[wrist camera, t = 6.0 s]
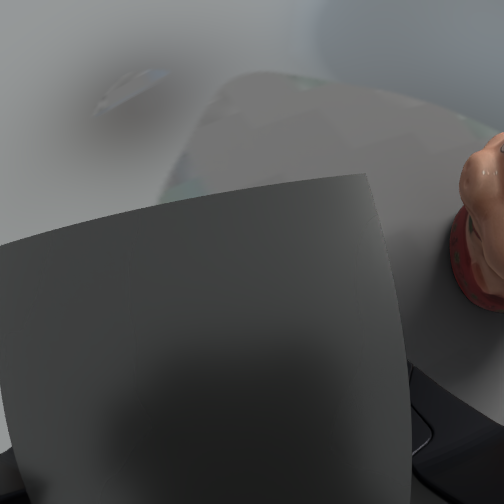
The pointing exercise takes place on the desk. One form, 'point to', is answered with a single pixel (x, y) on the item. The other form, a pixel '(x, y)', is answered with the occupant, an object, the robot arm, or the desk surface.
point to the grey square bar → (210, 353)
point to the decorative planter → (481, 228)
